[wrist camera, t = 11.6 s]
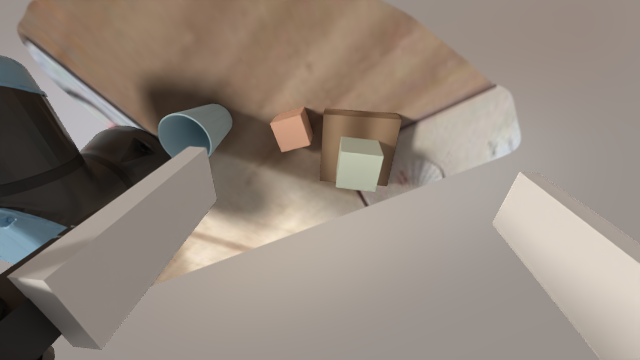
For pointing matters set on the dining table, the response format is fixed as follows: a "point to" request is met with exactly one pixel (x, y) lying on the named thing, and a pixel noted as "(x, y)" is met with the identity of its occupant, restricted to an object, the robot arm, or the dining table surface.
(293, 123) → the terracotta cube
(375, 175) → the pale green cube
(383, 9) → the dining table surface
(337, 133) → the walnut block
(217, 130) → the cup
